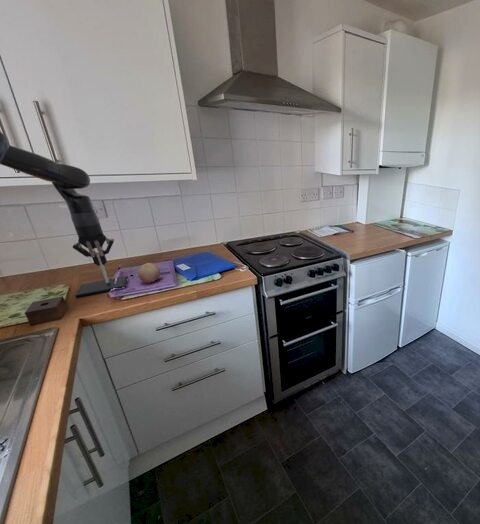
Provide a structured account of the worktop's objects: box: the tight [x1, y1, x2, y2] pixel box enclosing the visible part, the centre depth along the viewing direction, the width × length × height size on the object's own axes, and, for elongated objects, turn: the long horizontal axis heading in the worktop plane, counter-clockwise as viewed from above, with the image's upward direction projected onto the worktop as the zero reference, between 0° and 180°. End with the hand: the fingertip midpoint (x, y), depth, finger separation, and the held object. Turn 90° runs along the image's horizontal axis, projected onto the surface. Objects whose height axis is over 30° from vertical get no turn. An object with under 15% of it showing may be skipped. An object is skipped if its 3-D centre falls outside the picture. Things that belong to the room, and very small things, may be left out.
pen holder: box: [24, 295, 69, 326], centre depth 104 cm, size 8×8×5 cm
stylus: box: [95, 251, 110, 284], centre depth 122 cm, size 1×1×14 cm
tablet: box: [75, 275, 129, 299], centre depth 124 cm, size 16×11×1 cm
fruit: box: [137, 262, 161, 284], centre depth 128 cm, size 8×8×8 cm
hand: (101, 264), depth 121 cm, fingers closed on stylus, 1 cm apart
